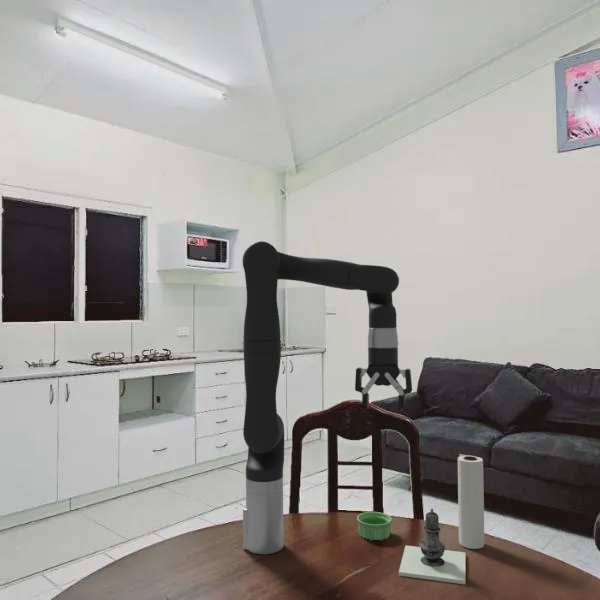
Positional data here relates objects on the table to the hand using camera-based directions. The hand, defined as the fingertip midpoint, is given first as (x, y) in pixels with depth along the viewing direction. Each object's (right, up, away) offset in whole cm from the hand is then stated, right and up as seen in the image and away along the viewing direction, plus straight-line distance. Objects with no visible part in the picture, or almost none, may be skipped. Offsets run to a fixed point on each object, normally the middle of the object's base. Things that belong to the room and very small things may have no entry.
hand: (383, 409), depth 137 cm
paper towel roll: (+21, -33, -3) cm, 40 cm away
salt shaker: (+9, -32, -14) cm, 36 cm away
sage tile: (+9, -33, -15) cm, 37 cm away
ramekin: (-2, -34, +3) cm, 34 cm away
